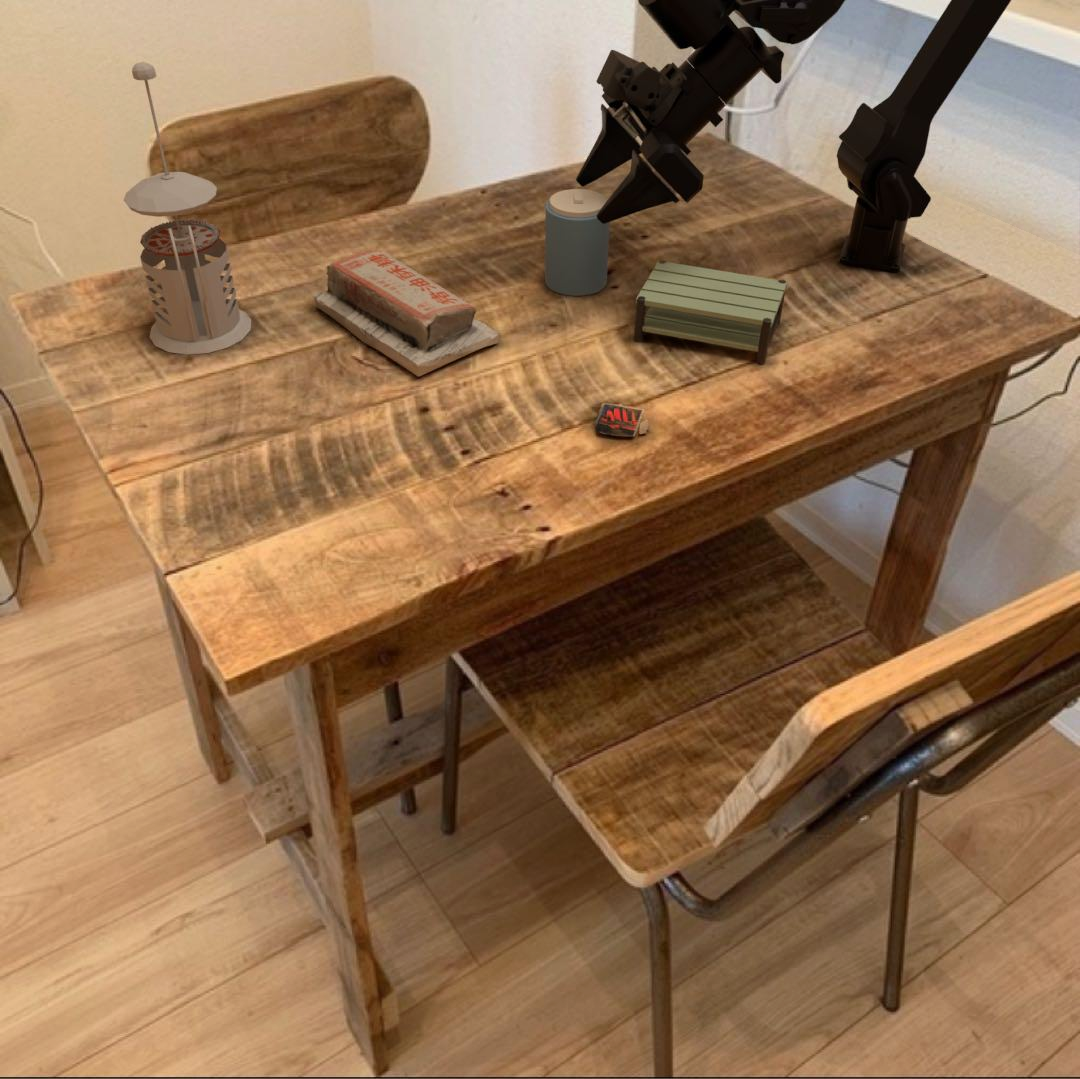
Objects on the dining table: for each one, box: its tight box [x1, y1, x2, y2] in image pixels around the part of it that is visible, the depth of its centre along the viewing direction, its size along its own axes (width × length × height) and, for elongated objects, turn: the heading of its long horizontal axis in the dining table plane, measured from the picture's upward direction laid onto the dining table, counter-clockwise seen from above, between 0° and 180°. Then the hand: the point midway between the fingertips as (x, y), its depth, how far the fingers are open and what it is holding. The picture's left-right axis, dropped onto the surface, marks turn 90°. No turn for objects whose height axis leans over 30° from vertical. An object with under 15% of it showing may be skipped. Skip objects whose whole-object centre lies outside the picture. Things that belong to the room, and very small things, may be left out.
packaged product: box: [314, 249, 501, 378], centre depth 104 cm, size 18×5×10 cm
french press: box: [123, 61, 252, 356], centre depth 97 cm, size 10×12×25 cm
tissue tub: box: [544, 188, 611, 297], centre depth 111 cm, size 7×7×9 cm
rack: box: [633, 259, 788, 365], centre depth 104 cm, size 9×13×4 cm
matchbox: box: [594, 402, 651, 438], centre depth 93 cm, size 5×5×1 cm
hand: (588, 201), depth 108 cm, fingers open, 9 cm apart
